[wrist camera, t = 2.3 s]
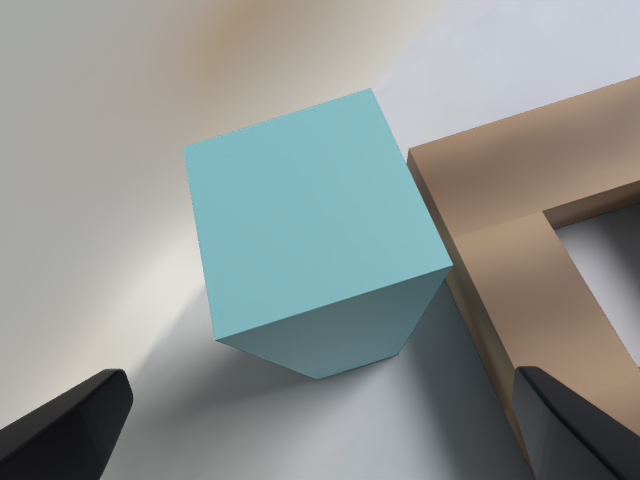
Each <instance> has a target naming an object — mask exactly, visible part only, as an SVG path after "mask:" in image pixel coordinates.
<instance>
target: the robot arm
mask: <svg viewBox="0 0 640 480" xmlns="http://www.w3.org/2000/svg"><path fill="white" fill-rule="evenodd" d="M511 399H512V405H513V409H514V412H515V415H516V418H517V421H518V424H519V427H520V431H521V434H522V437H523V440H524V443H525V446H526V449H527V452H528V455H529V458H530V461H531V464H532V467H533V470H534V473H535V476H536V479H537V480H640V436H639V435H637V434H636V433H634V432H633V431H631V430H630V429H628V428H627V427H626V426H624V425H623V424H621V423H620V422H618V421H617V420H615V419H614V418H612V417H611V416H610V415H608V414H607V413H605V412H604V411H602V410H601V409H599V408H598V407H596V406H595V405H593V404H592V403H591V402H589V401H588V400H586V399H585V398H583V397H582V396H580V395H579V394H577V393H576V392H575V391H573V390H572V389H570V388H569V387H567V386H566V385H564V384H563V383H561V382H560V381H559V380H557V379H556V378H554V377H553V376H551V375H550V374H548V373H547V372H545V371H544V370H542V369H541V368H539V367H537V366H518V367H517V368H516V369H515V373H514V380H513V387H512V395H511ZM132 404H133V393H132V390H131V387H130V384H129V381H128V378H127V375H126V373H125V371H124V370H122V369H105V370H103V371H101V372H99V373H97V374H96V375H94V376H92V377H90V378H89V379H87V380H85V381H84V382H82V383H80V384H78V385H77V386H75V387H73V388H71V389H70V390H68V391H67V392H65V393H63V394H61V395H60V396H58V397H56V398H54V399H53V400H51V401H49V402H47V403H46V404H44V405H42V406H40V407H39V408H37V409H35V410H34V411H32V412H30V413H28V414H27V415H25V416H23V417H22V418H20V419H18V420H16V421H15V422H13V423H11V424H10V425H8V426H6V427H4V428H3V429H1V430H0V480H100V478H101V476H102V474H103V472H104V470H105V467H106V465H107V463H108V461H109V459H110V456H111V454H112V452H113V449H114V447H115V445H116V442H117V440H118V437H119V435H120V433H121V430H122V428H123V426H124V423H125V421H126V419H127V416H128V414H129V412H130V409H131V407H132Z"/></svg>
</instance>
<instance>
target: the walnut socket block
mask: <svg viewBox="0 0 640 480" xmlns="http://www.w3.org/2000/svg"><path fill="white" fill-rule="evenodd" d="M407 167H408V169H409V171H410V173H411V175H412V177H413V180H414V182H415V184H416V186H417V188H418V190H419V192H420V195H421V197H422V199H423V201H424V203H425V205H426V207H427V210H428V212H429V214H430V216H431V218H432V220H433V223H434V225H435V227H436V229H437V231H438V233H439V235H440V238H441V240H442V242H443V244H444V246H445V248H446V250H447V253H448V255H449V257H450V259H451V261H452V263H453V266H452V268H451V269H450V271H449V273H448V274H447V276H446V278H445V281H446V283H447V285H448V287H449V289H450V292H451V294H452V296H453V298H454V301H455V303H456V305H457V307H458V310H459V312H460V314H461V316H462V318H463V321H464V323H465V325H466V327H467V330H468V332H469V334H470V336H471V338H472V341H473V343H474V345H475V347H476V350H477V352H478V354H479V356H480V359H481V361H482V363H483V365H484V367H485V370H486V372H487V374H488V376H489V379H490V381H491V383H492V385H493V388H494V390H495V392H496V394H497V396H498V399H499V401H500V403H501V405H502V408H503V410H504V412H505V414H506V417H507V419H508V421H509V423H510V425H511V428H512V430H513V432H514V434H515V437H516V439H517V441H518V443H519V445H520V448H521V450H522V452H523V454H524V457H525V459H526V461H527V463H528V466H529V468H530V470H531V472H532V474H533V477H534V479H535V480H537V479H536V476H535V473H534V470H533V467H532V464H531V461H530V458H529V455H528V452H527V449H526V446H525V443H524V440H523V437H522V434H521V431H520V427H519V424H518V421H517V418H516V415H515V412H514V409H513V405H512V399H511V395H512V387H513V380H514V373H515V369H516V368H517V367H518V366H537V367H539V368H541V369H542V370H544V371H545V372H547V373H548V374H550V375H551V376H553V377H554V378H556V379H557V380H559V381H560V382H561V383H563V384H564V385H566V386H567V387H569V388H570V389H572V390H573V391H575V392H576V393H577V394H579V395H580V396H582V397H583V398H585V399H586V400H588V401H589V402H591V403H592V404H593V405H595V406H596V407H598V408H599V409H601V410H602V411H604V412H605V413H607V414H608V415H610V416H611V417H612V418H614V419H615V420H617V421H618V422H620V423H621V424H623V425H624V426H626V427H627V428H628V429H630V430H631V431H633V432H634V433H636V434H637V435H639V436H640V367H637V366H636V364H635V362H634V361H633V359H632V358H631V356H630V354H629V353H628V351H627V349H626V348H625V346H624V344H623V343H622V341H621V340H620V338H619V336H618V335H617V333H616V331H615V330H614V328H613V327H612V325H611V323H610V322H609V320H608V318H607V317H606V315H605V313H604V312H603V310H602V309H601V307H600V305H599V304H598V302H597V300H596V299H595V297H594V295H593V294H592V292H591V291H590V289H589V287H588V286H587V284H586V282H585V281H584V279H583V277H582V276H581V274H580V273H579V271H578V269H577V268H576V266H575V264H574V263H573V261H572V259H571V258H570V256H569V255H568V253H567V251H566V250H565V248H564V246H563V245H562V243H561V242H560V240H559V238H558V237H557V235H556V233H555V232H554V229H557V228H560V227H563V226H567V225H570V224H573V223H576V222H579V221H582V220H586V219H589V218H592V217H595V216H598V215H601V214H605V213H608V212H611V211H614V210H617V209H620V208H624V207H627V206H630V205H633V204H636V203H639V202H640V76H638V77H634V78H631V79H628V80H625V81H622V82H619V83H615V84H612V85H609V86H606V87H603V88H600V89H596V90H593V91H590V92H587V93H584V94H581V95H577V96H574V97H571V98H568V99H565V100H562V101H558V102H555V103H552V104H549V105H546V106H543V107H539V108H536V109H533V110H530V111H527V112H524V113H520V114H517V115H514V116H511V117H508V118H504V119H501V120H498V121H495V122H492V123H489V124H485V125H482V126H479V127H476V128H473V129H470V130H466V131H463V132H460V133H457V134H454V135H451V136H447V137H444V138H441V139H438V140H435V141H432V142H428V143H425V144H422V145H419V146H416V147H413V148H409V152H408V159H407Z"/></svg>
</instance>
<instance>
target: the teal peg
mask: <svg viewBox="0 0 640 480" xmlns="http://www.w3.org/2000/svg"><path fill="white" fill-rule="evenodd" d="M183 150H184V156H185V163H186V168H187V175H188V181H189V186H190V192H191V199H192V205H193V210H194V217H195V222H196V229H197V235H198V241H199V247H200V253H201V259H202V265H203V271H204V277H205V283H206V289H207V295H208V301H209V307H210V313H211V319H212V325H213V331H214V337H215V340H216V341H218V342H221V343H224V344H226V345H229V346H231V347H234V348H237V349H239V350H242V351H244V352H247V353H249V354H252V355H255V356H257V357H260V358H262V359H265V360H268V361H270V362H273V363H275V364H278V365H280V366H283V367H286V368H288V369H291V370H293V371H296V372H299V373H301V374H304V375H306V376H309V377H311V378H314V379H317V380H319V379H322V378H326V377H329V376H332V375H335V374H338V373H341V372H345V371H348V370H351V369H354V368H357V367H360V366H364V365H367V364H370V363H373V362H376V361H379V360H383V359H386V358H389V357H392V356H395V355H398V354H399V352H400V351H401V349H402V348H403V346H404V344H405V343H406V341H407V339H408V338H409V336H410V335H411V333H412V331H413V330H414V328H415V326H416V325H417V323H418V322H419V320H420V318H421V317H422V315H423V313H424V312H425V310H426V309H427V307H428V305H429V304H430V302H431V300H432V299H433V297H434V295H435V294H436V292H437V291H438V289H439V287H440V286H441V284H442V282H443V281H444V279H445V278H446V276H447V274H448V273H449V271H450V269H451V268H452V266H453V263H452V261H451V259H450V257H449V255H448V253H447V250H446V248H445V246H444V244H443V242H442V240H441V238H440V235H439V233H438V231H437V229H436V227H435V225H434V223H433V220H432V218H431V216H430V214H429V212H428V210H427V207H426V205H425V203H424V201H423V199H422V197H421V195H420V192H419V190H418V188H417V186H416V184H415V182H414V180H413V177H412V175H411V173H410V171H409V169H408V167H407V165H406V162H405V160H404V158H403V156H402V154H401V152H400V150H399V147H398V145H397V143H396V141H395V139H394V137H393V135H392V132H391V130H390V128H389V126H388V124H387V122H386V120H385V117H384V115H383V113H382V111H381V109H380V107H379V104H378V102H377V100H376V98H375V96H374V94H373V92H372V89H371V88H369V89H366V90H363V91H360V92H357V93H354V94H351V95H347V96H344V97H341V98H338V99H335V100H331V101H328V102H325V103H322V104H319V105H316V106H312V107H309V108H306V109H303V110H300V111H296V112H293V113H290V114H287V115H284V116H281V117H277V118H274V119H271V120H268V121H265V122H262V123H258V124H255V125H252V126H249V127H246V128H243V129H239V130H236V131H233V132H230V133H227V134H223V135H220V136H217V137H214V138H211V139H208V140H204V141H201V142H198V143H195V144H192V145H189V146H185V147H183Z"/></svg>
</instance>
